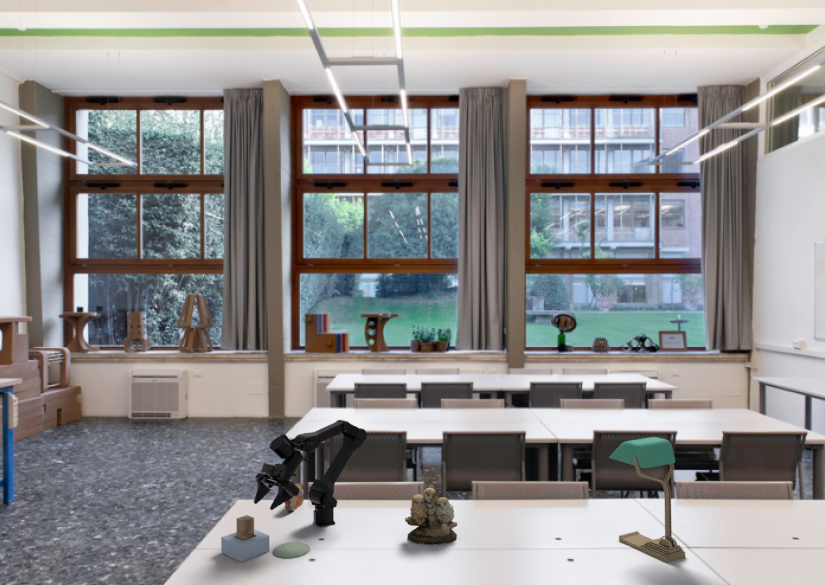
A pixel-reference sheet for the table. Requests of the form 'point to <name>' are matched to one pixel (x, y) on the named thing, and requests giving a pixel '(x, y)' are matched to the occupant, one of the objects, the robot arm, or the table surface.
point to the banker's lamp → (658, 454)
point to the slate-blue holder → (245, 546)
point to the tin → (295, 499)
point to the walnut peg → (245, 527)
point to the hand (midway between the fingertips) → (262, 506)
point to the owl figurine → (431, 519)
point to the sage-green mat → (291, 550)
